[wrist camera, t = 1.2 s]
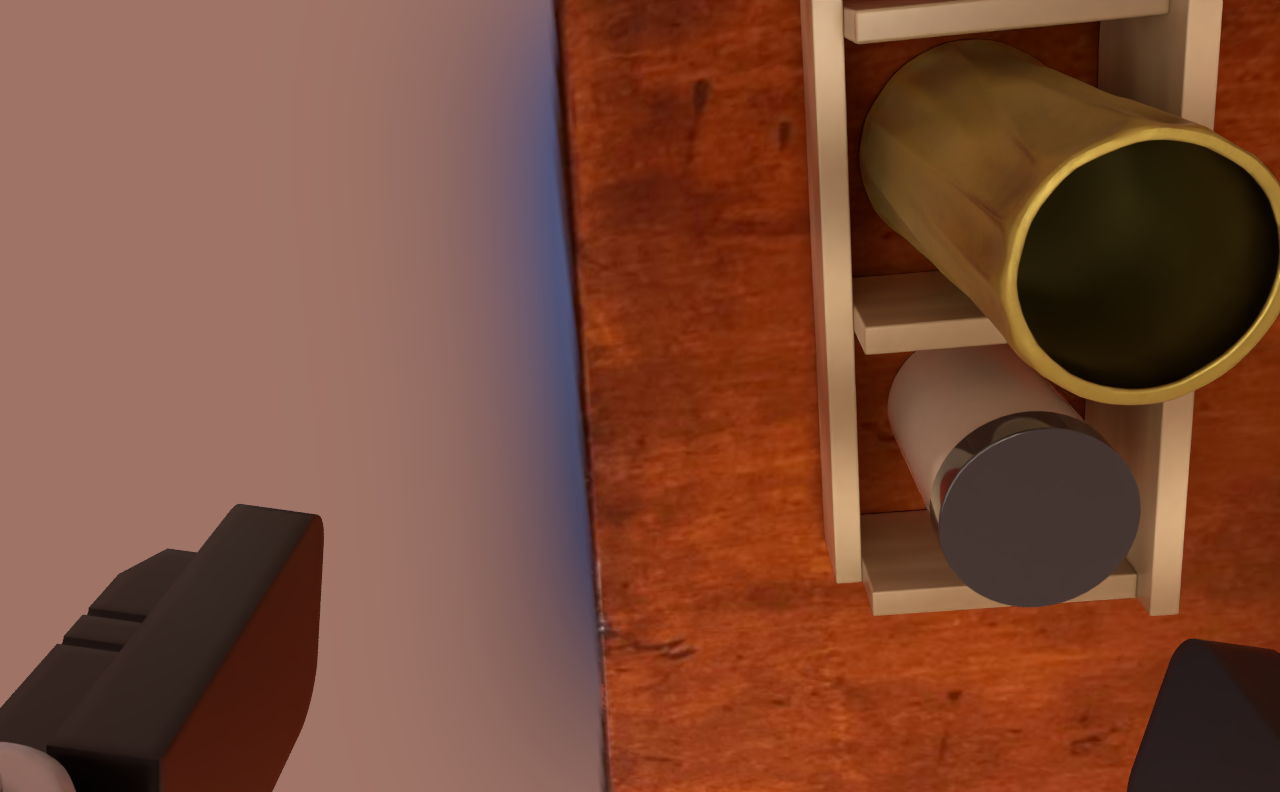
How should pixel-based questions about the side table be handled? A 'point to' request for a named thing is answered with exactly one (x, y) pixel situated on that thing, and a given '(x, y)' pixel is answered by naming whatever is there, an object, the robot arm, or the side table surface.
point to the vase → (1078, 220)
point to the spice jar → (1011, 476)
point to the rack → (947, 318)
